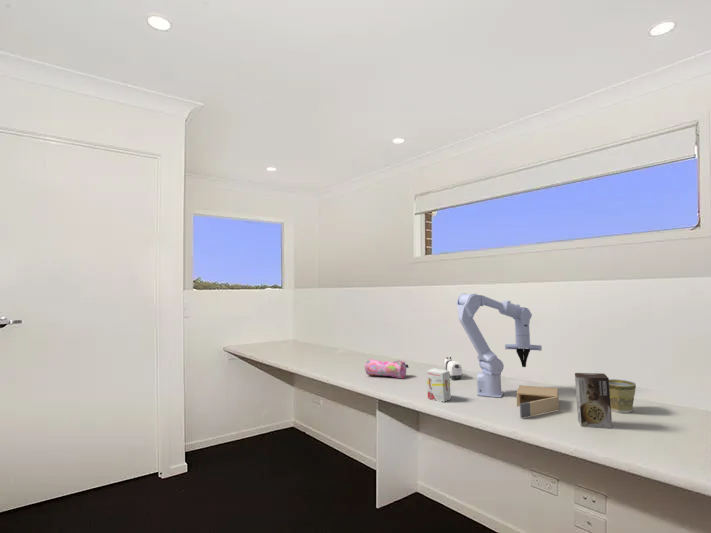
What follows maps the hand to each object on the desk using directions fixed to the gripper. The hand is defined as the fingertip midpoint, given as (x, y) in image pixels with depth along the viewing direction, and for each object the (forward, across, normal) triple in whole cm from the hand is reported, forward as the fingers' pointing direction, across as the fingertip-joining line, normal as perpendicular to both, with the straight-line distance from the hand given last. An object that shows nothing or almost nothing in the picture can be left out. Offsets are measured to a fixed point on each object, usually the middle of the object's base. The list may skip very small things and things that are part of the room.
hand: (524, 366), depth 179 cm
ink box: (+11, +31, +24) cm, 41 cm away
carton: (+10, -6, +17) cm, 21 cm away
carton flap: (+10, -8, +30) cm, 33 cm away
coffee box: (+11, -24, +35) cm, 44 cm away
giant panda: (+11, +35, -15) cm, 40 cm away
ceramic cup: (+11, -34, +15) cm, 39 cm away
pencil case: (+11, +67, -7) cm, 68 cm away
